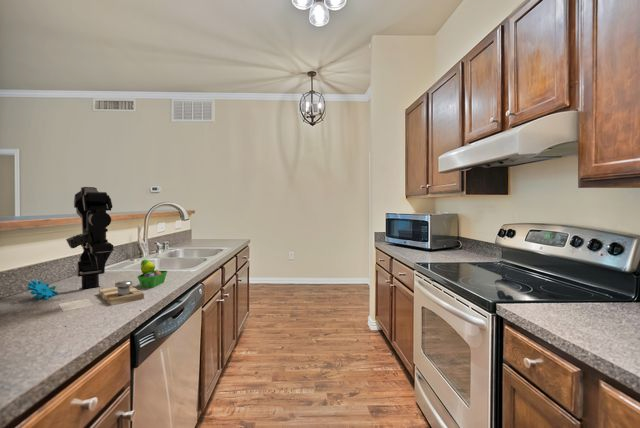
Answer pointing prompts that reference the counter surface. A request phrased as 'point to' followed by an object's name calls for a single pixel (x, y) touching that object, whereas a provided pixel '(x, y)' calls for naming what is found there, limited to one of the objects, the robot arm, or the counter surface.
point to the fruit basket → (150, 275)
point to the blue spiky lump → (42, 290)
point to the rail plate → (113, 298)
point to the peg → (123, 287)
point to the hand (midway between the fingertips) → (96, 268)
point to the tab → (75, 304)
